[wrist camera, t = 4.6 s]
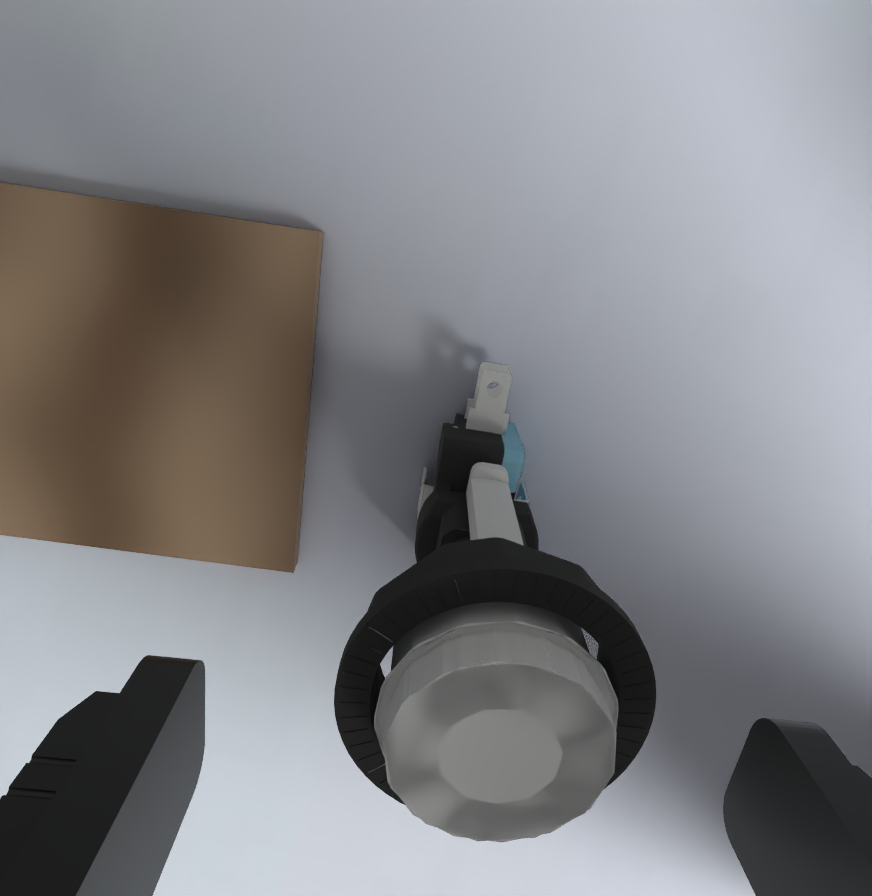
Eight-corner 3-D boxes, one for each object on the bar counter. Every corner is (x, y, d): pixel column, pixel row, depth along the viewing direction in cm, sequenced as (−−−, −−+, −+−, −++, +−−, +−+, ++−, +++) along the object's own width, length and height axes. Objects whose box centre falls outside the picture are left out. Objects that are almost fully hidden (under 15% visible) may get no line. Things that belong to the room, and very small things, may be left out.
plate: (323, 231, 16) (319, 232, 16) (297, 562, 20) (293, 572, 19) (-69, 171, 16) (-88, 169, 15) (-26, 520, 19) (-40, 529, 19)
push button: (402, 343, 17) (357, 492, 8) (589, 374, 18) (760, 555, 8) (371, 551, 20) (307, 858, 10) (536, 576, 20) (623, 897, 10)
